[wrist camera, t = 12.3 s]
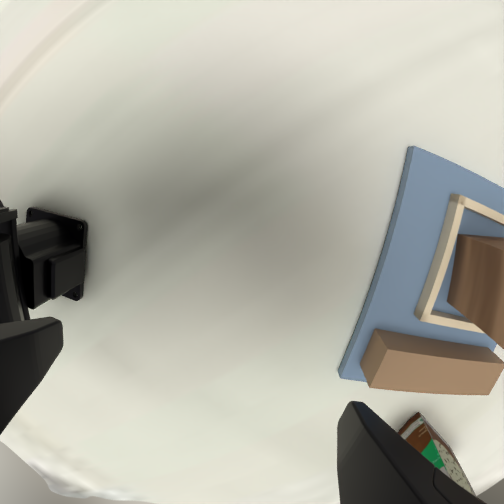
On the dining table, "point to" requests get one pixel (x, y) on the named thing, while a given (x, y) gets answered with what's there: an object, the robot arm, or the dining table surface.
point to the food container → (434, 449)
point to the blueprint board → (427, 287)
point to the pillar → (479, 283)
